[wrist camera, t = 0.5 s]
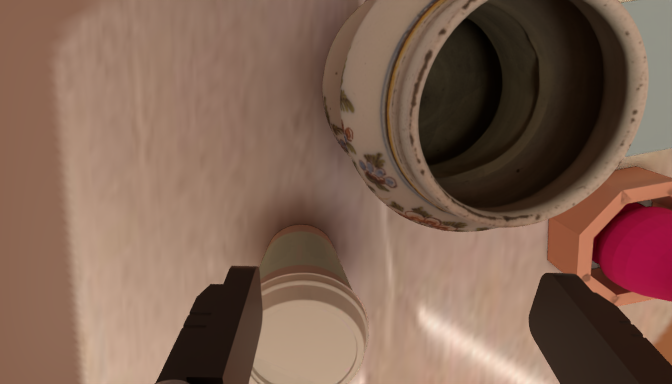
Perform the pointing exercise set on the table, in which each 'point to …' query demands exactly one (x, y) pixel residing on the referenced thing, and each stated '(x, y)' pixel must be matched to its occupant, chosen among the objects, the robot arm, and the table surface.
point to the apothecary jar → (485, 105)
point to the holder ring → (592, 216)
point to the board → (655, 74)
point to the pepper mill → (637, 250)
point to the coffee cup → (307, 313)
